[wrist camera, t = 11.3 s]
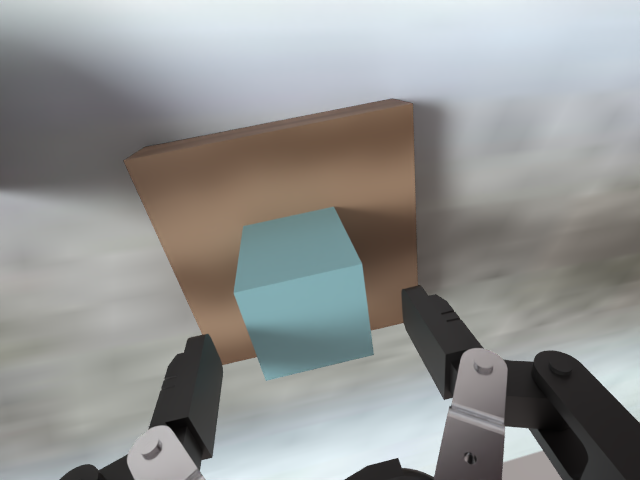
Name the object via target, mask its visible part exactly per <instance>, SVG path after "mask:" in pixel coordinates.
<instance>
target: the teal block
mask: <svg viewBox="0 0 640 480" xmlns="http://www.w3.org/2000/svg"><path fill="white" fill-rule="evenodd" d="M234 296H235V298H236V301H237V304H238V306H239V309H240V312H241V315H242V317H243V320H244V323H245V325H246V328H247V331H248V333H249V336H250V339H251V342H252V344H253V347H254V350H255V352H256V355H257V358H258V360H259V363H260V366H261V369H262V371H263V374H264V377H265V379H266V381H267V380H271V379H275V378H279V377H283V376H288V375H292V374H296V373H300V372H304V371H308V370H313V369H317V368H321V367H325V366H329V365H333V364H338V363H342V362H346V361H350V360H354V359H358V358H363V357H367V356H371V355H374V353H373V345H372V337H371V329H370V321H369V314H368V306H367V298H366V290H365V282H364V274H363V267H362V263H361V261H360V259H359V257H358V255H357V252H356V250H355V248H354V246H353V244H352V242H351V240H350V238H349V236H348V234H347V232H346V230H345V228H344V226H343V224H342V222H341V220H340V218H339V216H338V214H337V212H336V210H335V208H334V207H330V208H325V209H320V210H316V211H311V212H306V213H302V214H297V215H293V216H288V217H283V218H279V219H274V220H269V221H265V222H260V223H256V224H251V225H246V226H243V230H242V237H241V244H240V251H239V258H238V265H237V272H236V279H235V286H234Z"/></svg>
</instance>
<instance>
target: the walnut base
mask: <svg viewBox="0 0 640 480" xmlns="http://www.w3.org/2000/svg"><path fill="white" fill-rule="evenodd" d="M124 163H125V165H126V168H127V170H128V172H129V174H130V176H131V179H132V181H133V183H134V185H135V187H136V190H137V192H138V194H139V196H140V198H141V201H142V203H143V205H144V207H145V209H146V212H147V214H148V216H149V218H150V220H151V223H152V225H153V227H154V229H155V231H156V234H157V236H158V238H159V240H160V242H161V245H162V247H163V249H164V251H165V253H166V256H167V258H168V260H169V262H170V264H171V267H172V269H173V271H174V273H175V275H176V278H177V280H178V282H179V284H180V286H181V289H182V291H183V293H184V295H185V297H186V300H187V302H188V304H189V306H190V308H191V311H192V313H193V315H194V317H195V319H196V322H197V324H198V326H199V328H200V330H201V332H202V335H204V334H209V335H210V337H211V339H212V341H213V343H214V345H215V348H216V350H217V352H218V354H219V357H220V359H221V362H222V365H224V364H229V363H233V362H237V361H242V360H246V359H250V358H255V357H257V355H256V352H255V350H254V347H253V344H252V342H251V339H250V336H249V333H248V331H247V328H246V325H245V323H244V320H243V317H242V315H241V312H240V309H239V306H238V304H237V301H236V298H235V296H234V286H235V279H236V272H237V265H238V258H239V251H240V244H241V237H242V230H243V226H246V225H251V224H256V223H260V222H265V221H269V220H274V219H279V218H283V217H288V216H293V215H297V214H302V213H306V212H311V211H316V210H320V209H325V208H330V207H334V208H335V210H336V212H337V214H338V216H339V218H340V220H341V222H342V224H343V226H344V228H345V230H346V232H347V234H348V236H349V238H350V240H351V242H352V244H353V246H354V248H355V250H356V252H357V255H358V257H359V259H360V261H361V263H362V267H363V274H364V282H365V290H366V298H367V306H368V314H369V321H370V329H371V330H375V329H379V328H384V327H388V326H392V325H397V324H401V323H404V322H403V315H402V296H401V291H402V289H405V288H409V287H413V286H418V277H417V239H416V201H415V164H414V126H413V103H409V102H404V101H400V100H396V99H388V100H382V101H377V102H372V103H367V104H362V105H357V106H352V107H347V108H342V109H337V110H331V111H326V112H321V113H316V114H311V115H306V116H301V117H296V118H291V119H286V120H280V121H275V122H270V123H265V124H260V125H255V126H250V127H245V128H240V129H235V130H229V131H224V132H219V133H214V134H209V135H204V136H199V137H194V138H189V139H184V140H178V141H173V142H168V143H163V144H158V145H153V146H148V147H144V148H142V149H141V150H139V151H138V152H136V153H134V154H133V155H131V156H130V157H128V158H127V159H125V160H124Z"/></svg>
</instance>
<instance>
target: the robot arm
mask: <svg viewBox="0 0 640 480" xmlns="http://www.w3.org/2000/svg"><path fill="white" fill-rule="evenodd" d="M401 296H402V315H403V322H404V325H405V328H406V331H407V333H408V335H409V336H410V338H411V340H412V342H413V344H414V346H415V347H416V349H417V351H418V353H419V355H420V357H421V358H422V360H423V362H424V364H425V366H426V368H427V370H428V371H429V373H430V375H431V377H432V379H433V381H434V382H435V384H436V386H437V388H438V390H439V392H440V393H441V395H442V397H443V399H444V400H445V399H449V398H453V399H452V404H451V406H450V407H449V410H448V414H447V419H446V423H445V428H444V433H443V438H442V442H441V447H440V452H439V456H438V461H437V466H436V471H435V475H434V477H432V476H430V475H428V474H426V473H424V472H421V471H417V470H413V469H408V468H401V465H400V462H399V459H398V458H396V459H392V460H388V461H384V462H381V463H377V464H373V465H369V466H366V467H365V468H363V469H361V470H360V471H358V472H356V473H355V474H353V475H351V476H350V477H348V478H347V479H345V480H502V469H503V453H504V438H505V426H509V427H520V428H529V430H530V431H531V433H532V434H533V436H534V437H535V439H536V440H537V442H538V443H539V445H540V446H541V448H542V449H543V451H544V452H545V454H546V455H547V457H548V458H549V460H550V461H551V463H552V464H553V466H554V467H555V469H556V470H557V472H558V474H559V475H560V477H561V478H562V479H563V480H640V423H639V422H638V421H637V420H636V419H635V418H634V417H633V416H632V415H631V414H630V413H629V412H628V411H627V410H626V409H625V408H624V407H623V406H622V405H621V403H620V402H619V401H618V400H617V399H616V398H615V397H614V396H613V395H612V394H611V393H610V392H609V391H608V390H607V389H606V388H605V387H604V386H603V385H602V384H601V383H600V382H599V381H598V380H597V379H596V378H595V377H594V376H593V375H592V374H591V373H590V372H589V371H588V370H587V369H586V368H585V367H584V366H583V365H582V364H581V363H580V362H579V361H578V360H576V359H575V358H573V357H572V356H570V355H568V354H565V353H562V352H558V351H543V352H540V353H538V354H537V355H536V356H535V358H534V362H527V361H509V360H504V359H502V358H501V357H500V356H499V355H498V354H496V353H495V352H493V351H490V350H487V349H484V348H483V347H482V346H481V344H480V343H479V342H478V341H477V339H476V338H475V337H474V335H473V334H472V333H471V332H470V330H469V329H468V328H467V326H466V325H465V324H464V323H463V321H462V320H460V318H459V316H458V315H457V314H456V312H454V310H453V309H452V307H451V306H450V305H449V303H448V302H447V301H446V300H444V299H442V298H441V297H439V296H438V295H436V294H435V295H431V296H428V295H427V293H426V292H425V291H424V289H423V288H422V287H421V286H420V285H418V286H413V287H409V288H405V289H402V291H401ZM222 377H223V367H222V362H221V359H220V357H219V354H218V352H217V350H216V348H215V345H214V343H213V341H212V339H211V337H210V335H209V334H204V335H200V336H195V337H191V338H189V339H188V340H187V343H186V347H185V350H184V353H180V354H177V355H176V356H175V358H174V359H173V360H172V362H171V363H170V364H169V366H168V369H167V372H166V375H165V380H164V381H163V385H162V390H161V391H160V394H159V398H158V401H157V404H156V407H155V410H154V414H153V417H152V420H151V423H150V426H149V429H148V430H147V431H146V432H144V433H143V434H142V435H141V436H139V438H138V439H137V440H136V441H135V442H134V443H133V445H132V447H131V448H130V450H129V453H128V454H127V455H126V456H124V457H122V458H120V459H119V460H117V461H115V462H113V463H111V464H110V465H108V466H106V467H104V468H102V469H100V470H98V469H97V468H96V467H95V466H93V465H90V464H85V465H81V466H79V467H76V468H74V469H73V470H71V471H69V472H68V473H67V474H65V475H64V476H63V477H62V478H61V479H60V480H205V478H204V477H203V475H202V474H201V472H200V466H201V460H204V459H208V458H212V456H213V448H214V440H215V432H216V425H217V417H218V409H219V401H220V393H221V385H222Z"/></svg>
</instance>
